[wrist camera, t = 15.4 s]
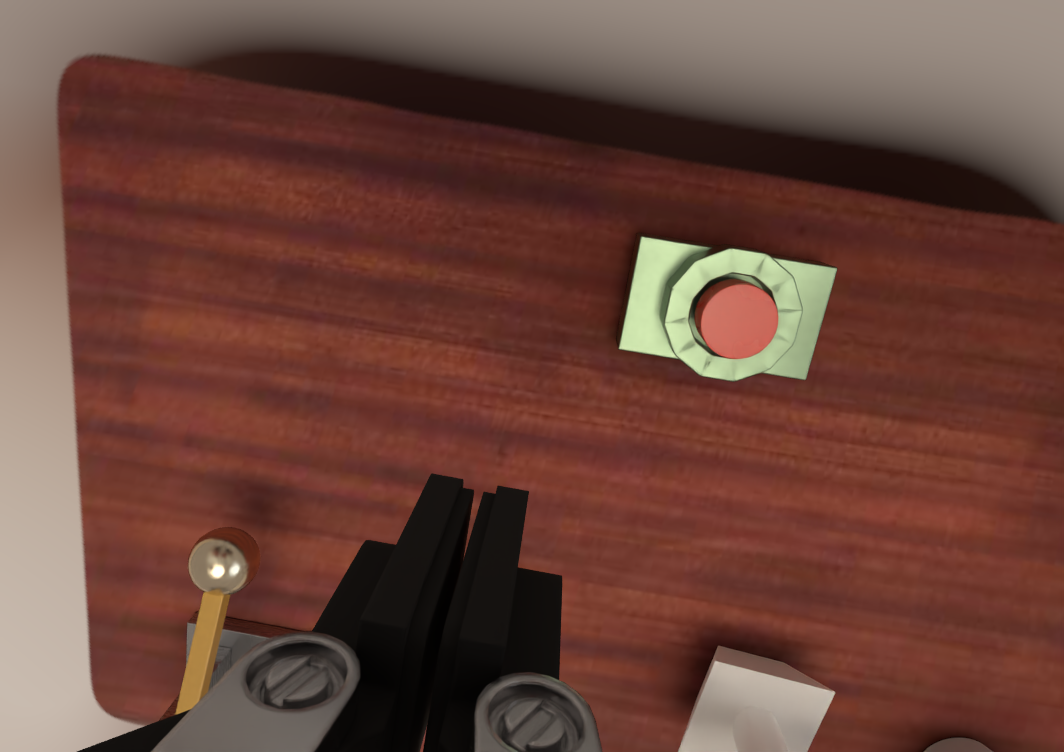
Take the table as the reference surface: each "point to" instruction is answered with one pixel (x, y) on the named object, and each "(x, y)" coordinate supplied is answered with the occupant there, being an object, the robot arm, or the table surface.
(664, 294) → the button box
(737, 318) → the button
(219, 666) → the bracket
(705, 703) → the figurine
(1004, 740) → the table surface
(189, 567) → the lever
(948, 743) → the cup
